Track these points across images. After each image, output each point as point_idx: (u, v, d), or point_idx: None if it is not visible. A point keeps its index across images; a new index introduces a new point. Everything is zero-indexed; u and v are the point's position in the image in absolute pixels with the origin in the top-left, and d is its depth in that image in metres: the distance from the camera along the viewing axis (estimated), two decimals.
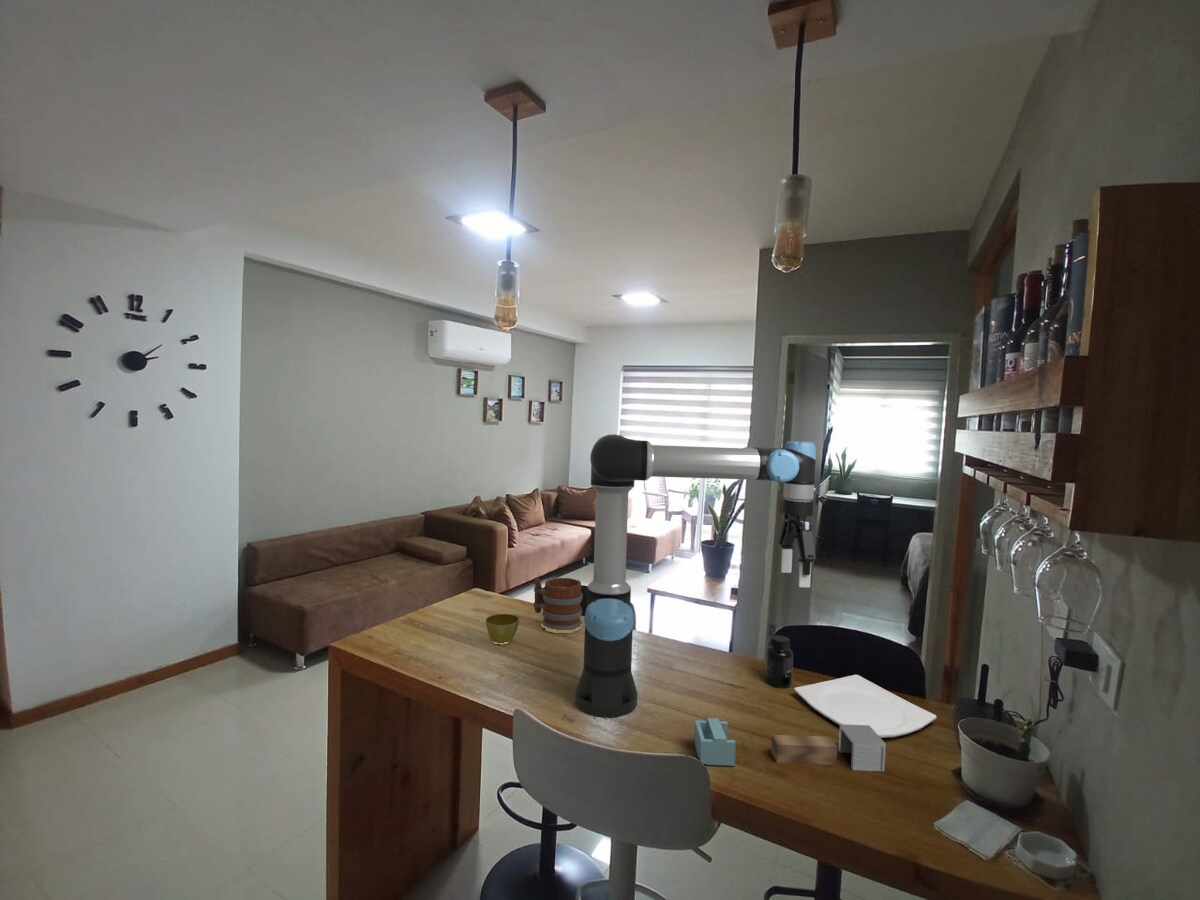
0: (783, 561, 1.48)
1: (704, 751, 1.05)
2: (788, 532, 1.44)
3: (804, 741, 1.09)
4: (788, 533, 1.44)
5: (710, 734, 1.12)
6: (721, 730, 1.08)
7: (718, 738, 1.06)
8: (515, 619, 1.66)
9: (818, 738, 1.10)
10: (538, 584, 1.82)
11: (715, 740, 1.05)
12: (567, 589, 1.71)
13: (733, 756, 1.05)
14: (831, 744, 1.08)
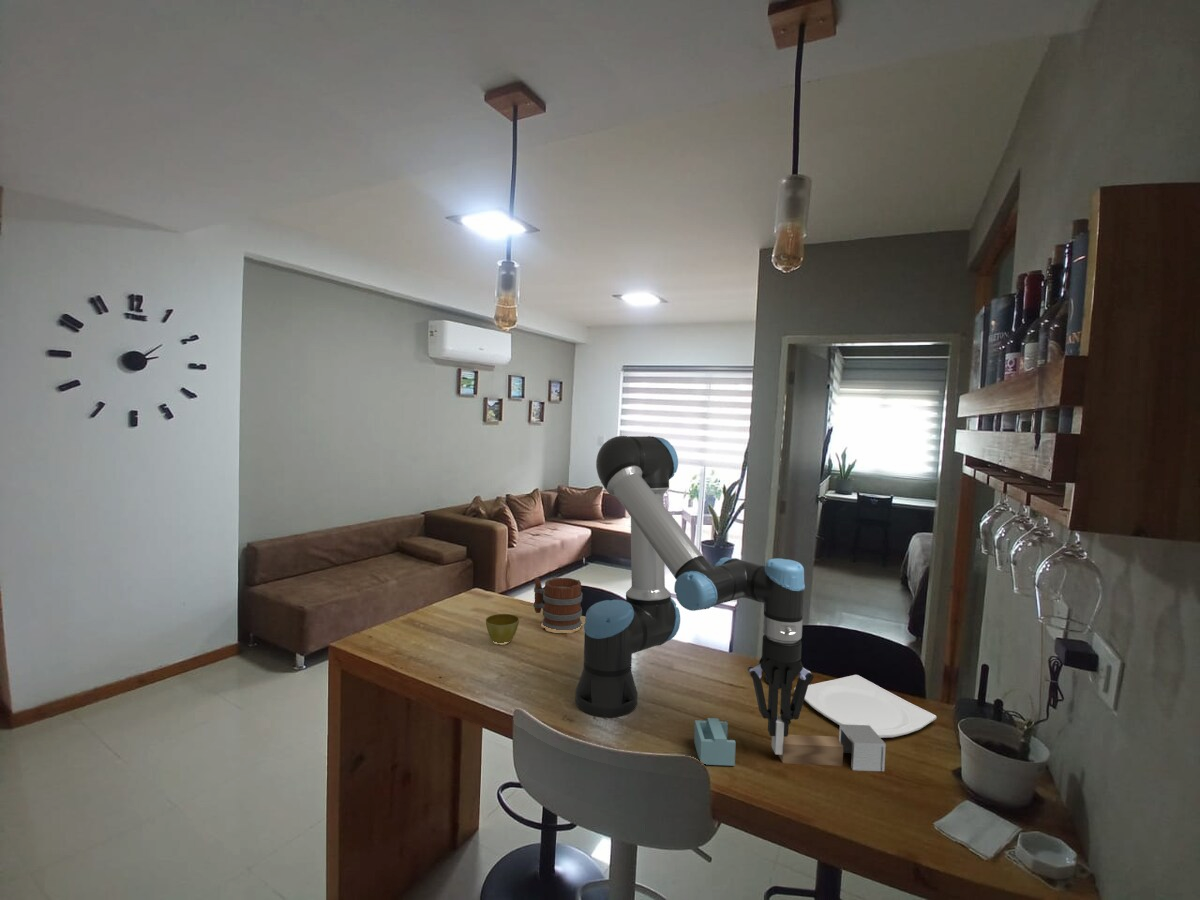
0: None
1: (704, 751, 1.05)
2: None
3: (810, 741, 1.08)
4: (781, 683, 1.09)
5: (710, 734, 1.12)
6: (721, 730, 1.08)
7: (718, 738, 1.06)
8: (515, 619, 1.66)
9: (824, 738, 1.10)
10: (538, 584, 1.82)
11: (715, 740, 1.05)
12: (567, 589, 1.71)
13: (733, 756, 1.05)
14: (837, 744, 1.08)
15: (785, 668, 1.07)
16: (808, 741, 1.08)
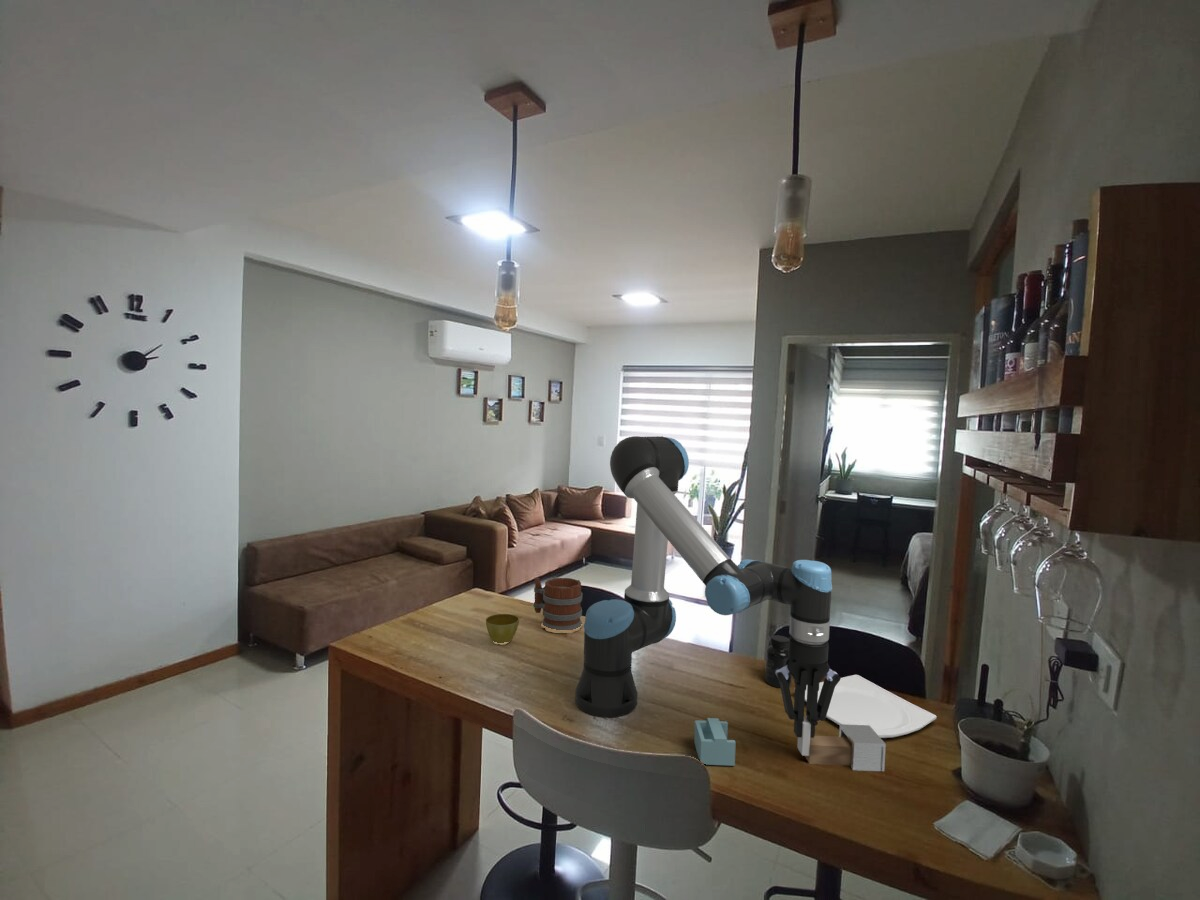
0: None
1: (704, 751, 1.05)
2: None
3: (837, 742, 1.09)
4: (807, 685, 1.10)
5: (710, 734, 1.12)
6: (721, 730, 1.08)
7: (718, 738, 1.06)
8: (515, 619, 1.66)
9: None
10: (538, 584, 1.82)
11: (715, 740, 1.05)
12: (567, 589, 1.71)
13: (733, 756, 1.05)
14: None
15: (812, 669, 1.07)
16: (834, 742, 1.08)
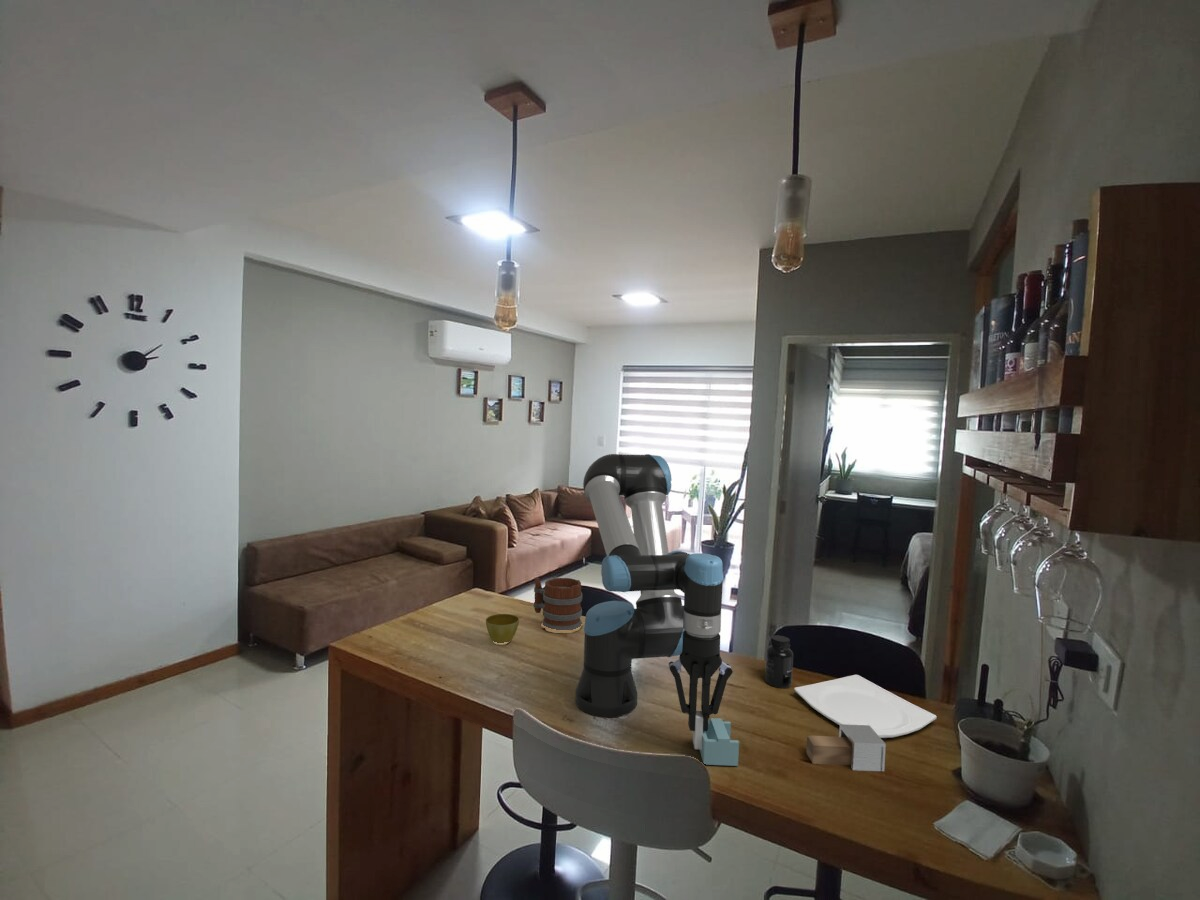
0: None
1: (708, 751, 1.05)
2: None
3: (840, 742, 1.09)
4: (702, 678, 1.10)
5: (714, 734, 1.12)
6: (724, 730, 1.08)
7: (721, 738, 1.06)
8: (515, 619, 1.66)
9: None
10: (538, 584, 1.82)
11: (718, 740, 1.05)
12: (567, 589, 1.71)
13: (736, 756, 1.05)
14: None
15: (704, 663, 1.07)
16: (838, 742, 1.09)
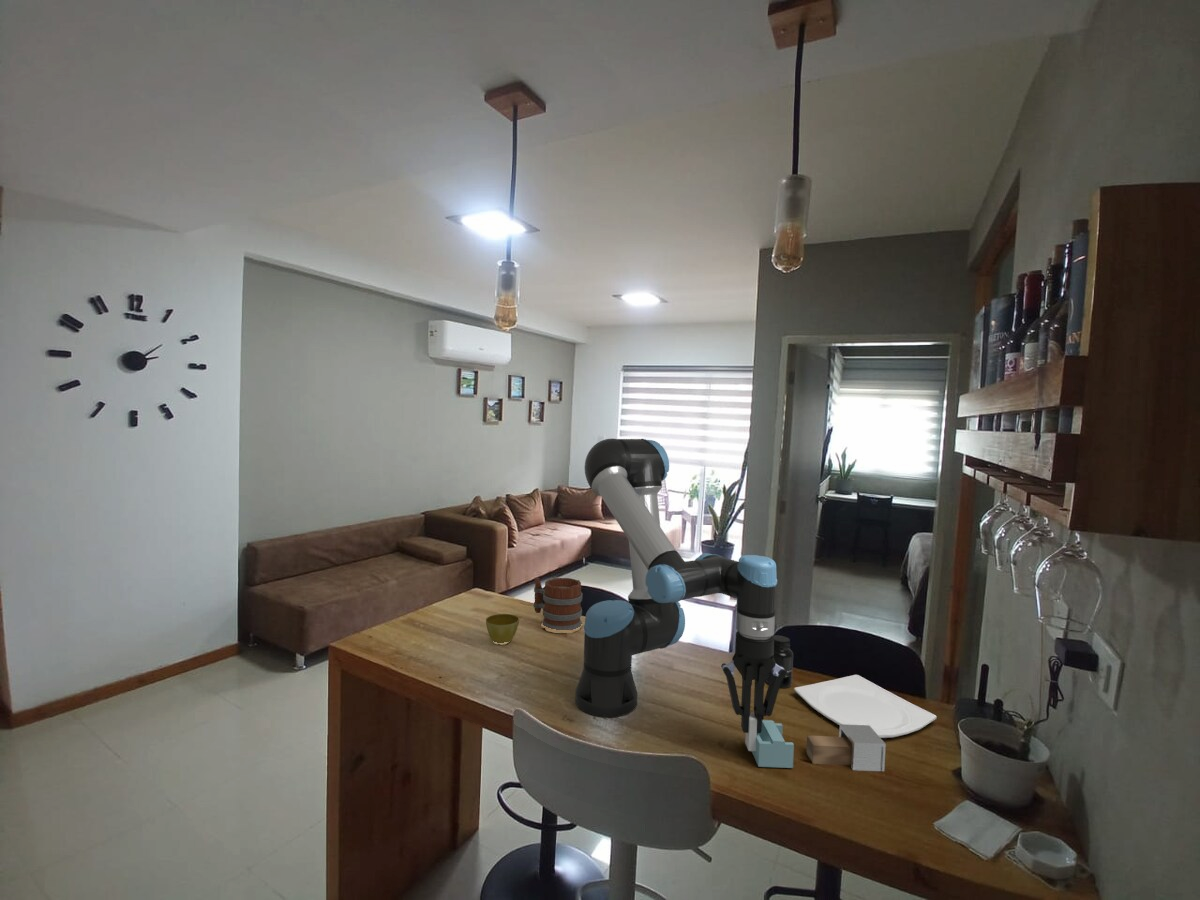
0: None
1: (763, 753, 1.05)
2: None
3: (840, 742, 1.09)
4: None
5: (765, 736, 1.12)
6: (778, 732, 1.08)
7: (776, 740, 1.05)
8: (515, 619, 1.66)
9: None
10: (538, 584, 1.82)
11: (773, 742, 1.05)
12: (567, 589, 1.71)
13: (791, 758, 1.05)
14: None
15: (758, 664, 1.07)
16: (838, 742, 1.09)
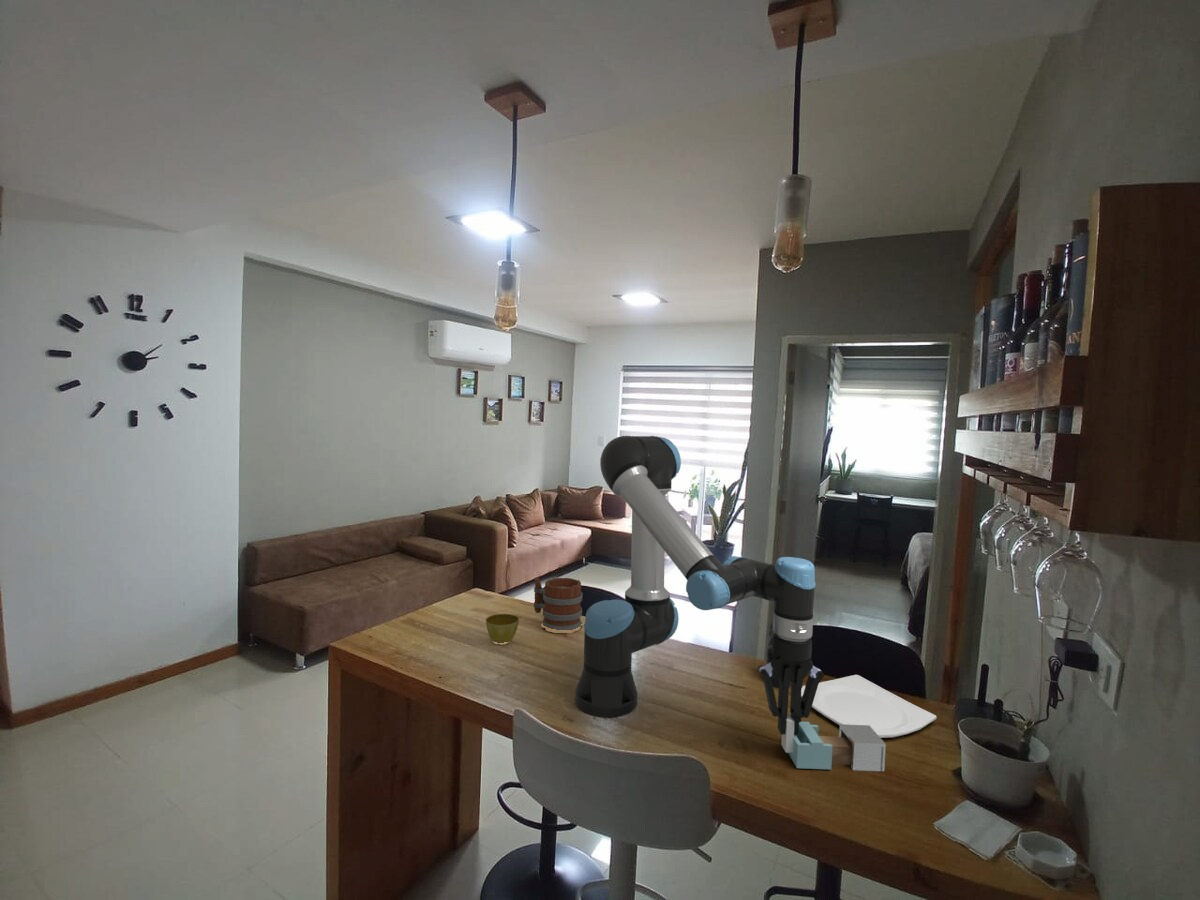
0: None
1: (801, 755, 1.05)
2: None
3: (840, 742, 1.09)
4: (791, 682, 1.10)
5: (801, 737, 1.12)
6: (815, 734, 1.08)
7: (814, 741, 1.05)
8: (515, 619, 1.66)
9: None
10: (538, 584, 1.82)
11: (812, 744, 1.05)
12: (567, 589, 1.71)
13: (830, 760, 1.05)
14: None
15: (795, 666, 1.07)
16: (838, 742, 1.09)
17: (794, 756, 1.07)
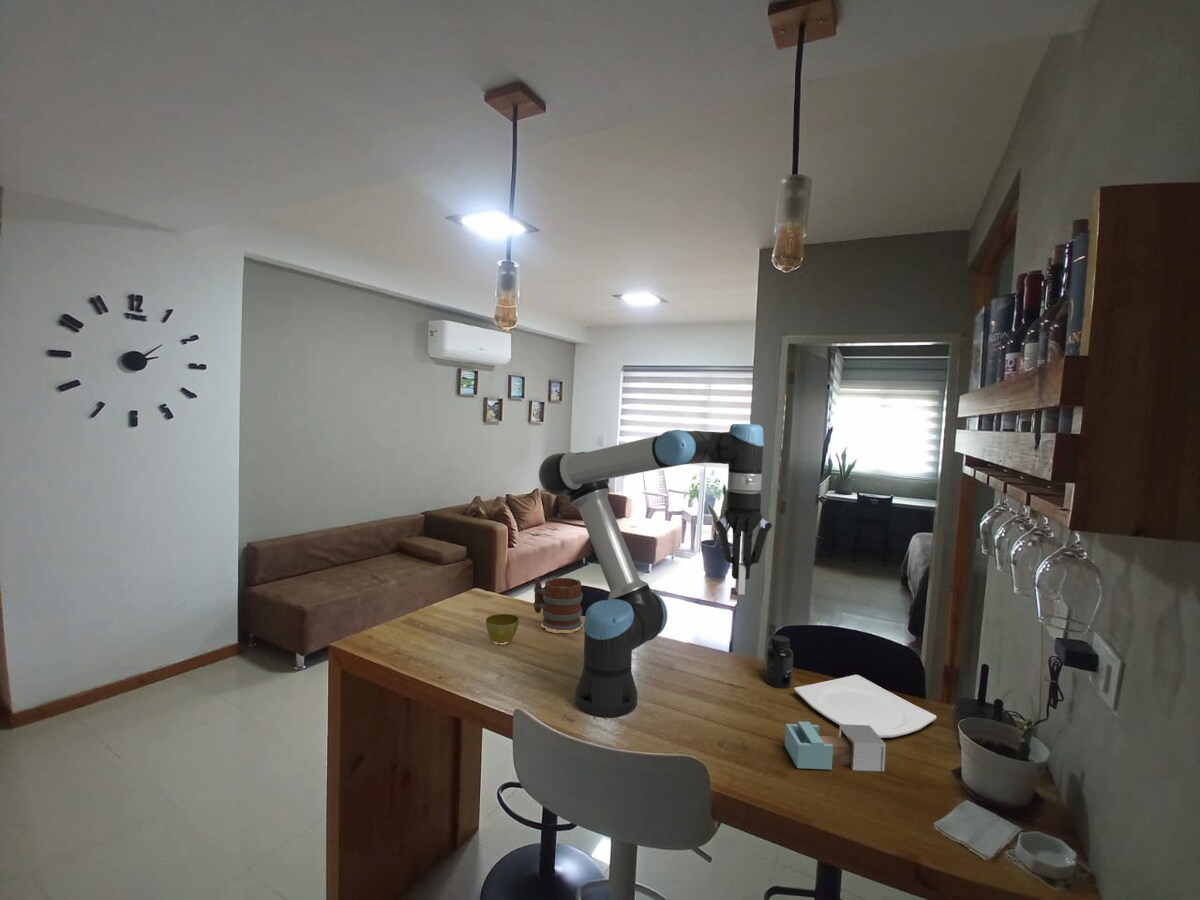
0: None
1: (802, 755, 1.05)
2: (744, 532, 1.24)
3: (840, 742, 1.09)
4: (744, 534, 1.24)
5: (802, 737, 1.12)
6: (816, 734, 1.08)
7: (815, 741, 1.05)
8: (515, 619, 1.66)
9: None
10: (538, 583, 1.82)
11: (812, 744, 1.05)
12: (567, 589, 1.71)
13: (830, 760, 1.05)
14: None
15: (747, 518, 1.21)
16: (838, 742, 1.09)
17: (795, 756, 1.07)
